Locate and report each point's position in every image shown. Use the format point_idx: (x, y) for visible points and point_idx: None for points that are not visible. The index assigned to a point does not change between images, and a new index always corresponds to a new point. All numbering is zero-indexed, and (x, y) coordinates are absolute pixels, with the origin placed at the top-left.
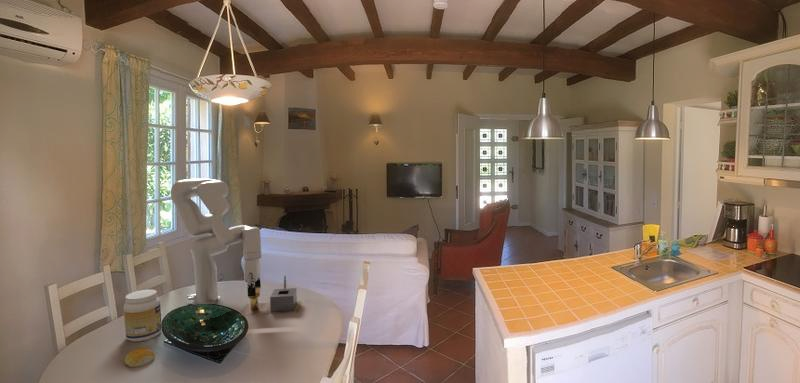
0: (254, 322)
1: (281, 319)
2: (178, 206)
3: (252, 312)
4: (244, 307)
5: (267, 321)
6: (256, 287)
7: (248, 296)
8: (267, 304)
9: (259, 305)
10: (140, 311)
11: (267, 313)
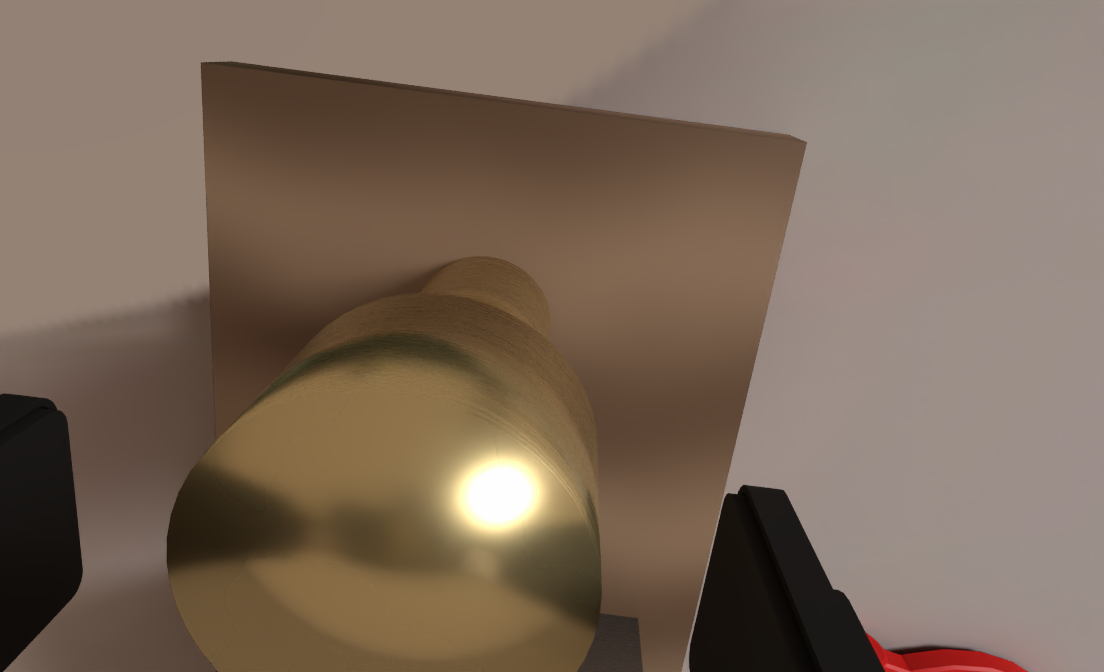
0: (67, 334)
1: (152, 659)
2: None
3: (313, 302)
4: (605, 123)
5: (96, 504)
6: (469, 666)
7: (320, 334)
8: (637, 517)
9: (628, 395)
10: None
11: None
